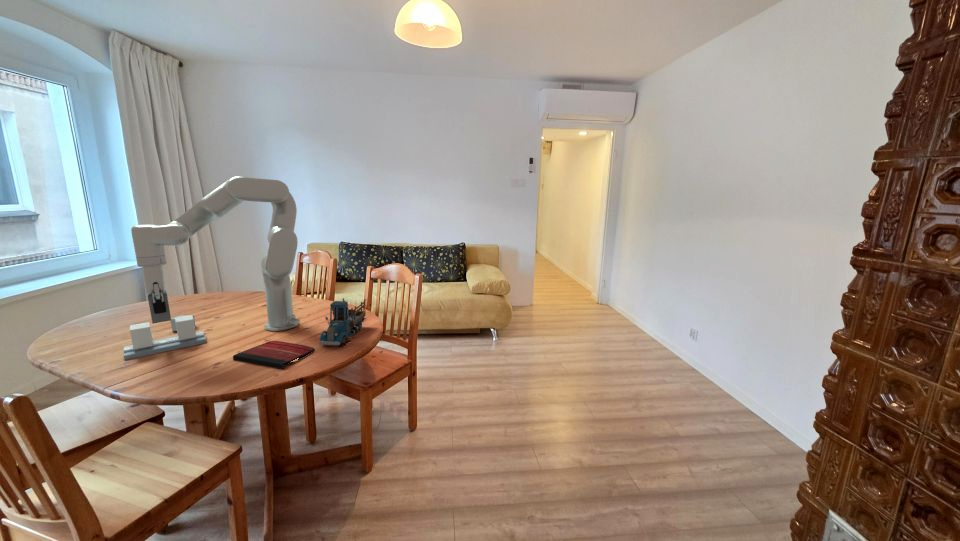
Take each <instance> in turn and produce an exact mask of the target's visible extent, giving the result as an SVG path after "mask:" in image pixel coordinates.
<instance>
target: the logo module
mask: <svg viewBox="0 0 960 541" xmlns="http://www.w3.org/2000/svg"><path fill="white" fill-rule="evenodd" d="M159 293H161V291H160V292H159ZM162 293H163V292H162ZM153 294H155V292H153ZM160 296H161V295H160ZM154 297H155V296H154ZM163 299H164V301H165V305H166V311H167V312H165V313H159V314H155V313H154V308H153V297H152V293H151V294H149V295H147V300H148V305H149V306H148V307H149V311H150V317H151V322H152V324H158V323H164V322H171V319H172V316H171V310H170V305H169V299H168V293H167V290H166V289H165V292H164V293H163ZM161 300H162V299H161Z"/></svg>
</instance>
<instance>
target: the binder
mask: <svg viewBox="0 0 960 541" xmlns="http://www.w3.org/2000/svg"><path fill="white" fill-rule="evenodd" d="M314 350H316V348H315V347H311V346H308V345H304V344H299V343H293V342H287V341H279V340H270V341H266V342H264V343H262V344H259V345H256V346H253V347H250V348H248V349H245V350H243V351H241V352H238V353H236V354H234V355H232V359H233V361H236V362H237V361H238V362H242V363H248V364H251V365H252V364H253V365H258V366H264V367H269V368H274V369H278V370H279V369H280V370H285V369H284V366H288V365H289V364H291V363H292V362H291V361H293V360H295V359H297V358H299V359H298V360H299V361H300V360H302V359H303V357H304V358H305V357H307V356H309V355H311V354H312V353H314V352H315V351H314ZM313 351H314V352H313ZM311 352H312V353H311ZM308 354H309V355H308ZM306 355H307V356H306ZM301 358H302V359H301ZM290 362H291V363H290ZM288 363H289V364H288ZM287 364H288V365H287ZM283 365H284V366H283Z"/></svg>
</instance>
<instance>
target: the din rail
mask: <svg viewBox="0 0 960 541" xmlns="http://www.w3.org/2000/svg"><path fill="white" fill-rule="evenodd" d="M197 332H198V333H196V337H194V338H199V337H203V336H205V333H204V331H202V332H200V331H197ZM172 337H173V338H169V337H167V338H168V339H164V338H162V339H163V340H159V339H157V340H158V341H154V340H153V346H149V347H154V346H159V345H164V344H169V343H174V342H179V341H184V340H189V339H194V338H189V339H184V340H179V338H178V337H175V336H172ZM131 345H132V346H128V345H126V346H127V347H125V346H124V347H123V354H124V353H125V352H130V351H134V350H139V349H144V348H149V347H144V348H139V349H133V344H131Z"/></svg>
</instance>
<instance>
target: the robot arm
mask: <svg viewBox="0 0 960 541" xmlns="http://www.w3.org/2000/svg"><path fill="white" fill-rule="evenodd" d="M244 201H246V202H255V203H256V202H259V203H271V206H272V213H271V214H272V215H271V220H270V226H269V230H268V234H267V241H268V243H269V245H268V249H267V253H266V254H265V255H263V257H262V259H261V262H260V265H261V274H262V278H263V284H264V285H263V286H264V295H265V296H264V297H265V303H266V304H265V305H266V312H267V313H266V315H267V322H266V323H265V324H264V330H267V331H271V332H280V331H287V330H290V329H292V328H295V327H296V326H298V325H299V323H301V319H300V318H296V314H294V308H293V307H294V306H293V296H292V286H291V278H290V275H291V273H292V271H293V268H294V263H295V258H296V255H297V249H298V236H297V235H296V233H295V226H296V219H297V204H296V201H295V199H294V197H293V194H291V192H290V189H289V187H288V185H287V184H286V183H285V182H283V181H281V180H279V179H270V178H269V179H268V178H256V177H247V176H239V175H237V176H233V177H231V178H229V179H228V180H226V181H225V182H224V183H222V184H220V185H218V186H217V188H215V189H214V190H211V192H209V193H208V194H207V195H205V196H203V197H202V198H200V199H199V200H198V201H197V202H196V203H195V204H194V205H193V206H192V207H191V208H189V209H187V211H185V212H184V213H182V214H181V215H179V216H178V217H177V218H175V219H174V220H172V221H171V222H169V223H168V224H165V225H158V224H135V225H133V226H132V227H131V229H130V231H131V232H130V233H131V237H132V243H133V247H134V252H135V254H134V255H135V258H136V259H135V260H136V263H137V267H139V268H141V270H142V277H143V284H144V290H145V293H146V295H147V296H148V295H149V294H151V293H152V297H153V308H154V313H155V314H159V313H165V312H167V311H166V305H165V301H164V299H163V293H164V292H165V290H166V283H165V274H164V273H165V272H164V269H163V266H165V265H167V258H166V254H165V253H166V252H165V246H171V247H178V246H179V247H180V246H183V245H185V244H187V243H188V242H189V240H190V238H192V237H193V236H194V235H195V234H197V233H198V232H199V231H201V230H202V229H203V228H205V227H207V226H208V225H209V224H212V223H213V222H216V221H218V220H220V219H221V218H223V217H224V216H225V215H227V214H229V213H230V212H231V211H232V210H234V209H235V208H236V207H238V206H239V205H241V204H242V203H243V202H244ZM160 291H161V293H159V292H160ZM153 292H155V294H153ZM162 292H163V293H162ZM160 295H161V296H160ZM154 296H155V297H154ZM161 299H162V300H161Z"/></svg>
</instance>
